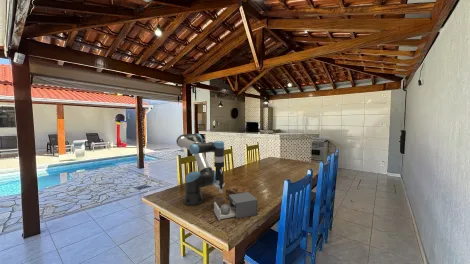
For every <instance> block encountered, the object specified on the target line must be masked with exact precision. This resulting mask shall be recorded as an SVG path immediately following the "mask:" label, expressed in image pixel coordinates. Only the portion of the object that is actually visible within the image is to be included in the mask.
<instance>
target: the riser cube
mask: <svg viewBox="0 0 470 264" xmlns="http://www.w3.org/2000/svg"><path fill="white" fill-rule="evenodd" d="M225 200H226V199H225V198H224V196H223V195H222V196H215V198H214V202H216V204H217V205H218V207H219V209H220V208H221V206H222V205H224V204H226V203H225V202H226V201H225Z"/></svg>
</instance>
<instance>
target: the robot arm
mask: <svg viewBox="0 0 470 264" xmlns="http://www.w3.org/2000/svg"><path fill="white" fill-rule="evenodd" d="M176 145H177V146H178V147H180V148H185V149H186V150H188V151H189V153H190V154H192V155H194V158H195V161H196V164H197V166H198V169H199V171H197V170H196V171H191V172H188V173H187V174H186V175H185V182H184V183H185V195H184V198H183V204H184V205H186V206H192V207H193V206H197V205H200V204H202V203H203V202H204V197H203V194H202V192H201V190H202V189H201V188H204V187H209V186H214V183H216V182H219V184H218V185H219V188H216V187H215V189H216V190H218V193H219V194H223V192H224V191H223V190H224V189H223V188H224V187H223V185H224V183H225V181H224V171H223V168H224V167H225V142H224V141H223V140H215V141H208V142H203V137H202V135H201V134H200V133H184V134H180V135H178V137H177V138H176ZM206 153H213V160H214V161H213V166H214V167H215V170H213V169H212V167H211V166H210V165H209V163H208V160H207V158H206V156H205V154H206Z"/></svg>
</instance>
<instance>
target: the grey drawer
mask: <svg viewBox="0 0 470 264" xmlns="http://www.w3.org/2000/svg"><path fill="white" fill-rule="evenodd" d="M213 212H214V214H215V216H216V218H217V220H218V221H221V220H223V219H229V218H234V217H235V218H236V208H235V206H232V207H230V204H226V203H225V204H224V205H222V206H221V208H219V207H218V205H217V204H216V202H215V201H214V202H213Z"/></svg>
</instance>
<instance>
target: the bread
mask: <svg viewBox="0 0 470 264" xmlns="http://www.w3.org/2000/svg"><path fill="white" fill-rule="evenodd" d="M245 192H249V193H250V194H251V191H250V190H249V189H248V188H245V187H244V186H239V185H234V184H233V185H229V186H227V187H226V188H225V198H227V199H229V195H232V194H238V193H245Z"/></svg>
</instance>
